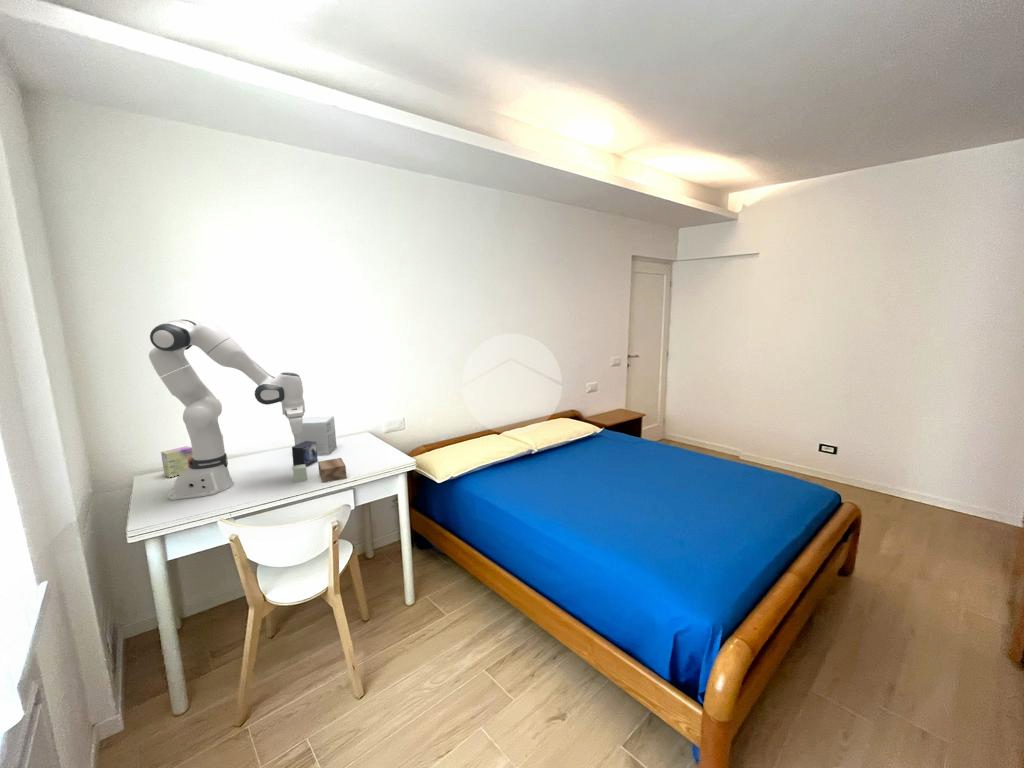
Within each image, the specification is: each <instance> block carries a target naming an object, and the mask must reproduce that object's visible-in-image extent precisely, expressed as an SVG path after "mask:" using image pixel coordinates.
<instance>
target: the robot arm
mask: <svg viewBox="0 0 1024 768" xmlns="http://www.w3.org/2000/svg"><path fill="white" fill-rule="evenodd" d="M149 339H150V342H151V344H152V346H154V347H153V348H152V349H151V350H150V351H149V354H148V358H149V360H150V363H151V365H152V367H153V369H154V370H155V372H156V374H157V376H158V377H159V378H160V380H161V381H162V383H163V384H164V386H165V387H166V388H167V390H168V391H169V393H170V395H172V396H174V397H175V398H176V399H177V400H178V401H179V402H180V403H181V404H182V405H183V406H184V407H185V408H184V410H183V414H182V421H183V423H184V425H185V429H186V431H187V434H188V436H189V439H190V444H191V447H192V452H193V457H190V458H189V459H188V467H189V468H188V469H187V470H186V471H184V472H183V473H182V474H181V475H179V476H176V477H177V478H176V479H175V481H174V484H173V488H172V489H170V491H168V494H167V498H168V500H171V501H176V500H184V499H193V498H200V497H207V496H213V495H216V494H217V493H219V492H222V491H224V490H226V489H229V488H231V487H232V486H233V485H234V481H233V480H232V478H231V475H230V471H229V467H228V465H229V463H228V456H227V453H226V451H225V443H224V436H223V434H222V431H221V428H220V423H219V417H220V415H221V414H222V411H223V406H222V403H221V401H220V400H219V399H218V398H217V397H216V396H215V394H214V393H213V392H212V391H211V390H210V389H209V388H208V387H207V385H206V384H205V383H204V382H203V381H202V380H201V379H200V377H199V376H198V374H197V373H196V371H195V370H194V368H193V367H192V365H191V364H190V362H189V360H188V359H187V357H186V356H185V350H186V351H187V350H189V349H190V348H191V347H192V346H194V347H196V348H198V349H199V350H201V351H202V352H203V353H204V354H205V355H207V357H209V359H211V360H212V361H214V362H215V363H217V365H220V366H222V367H225V368H232V369H234V370H238V371H240V372H242V373H243V374H245V375H246V376H247V377H248V378H249V379H250V380H251V381H252V382H254V383H255V384H256V385H257V387H256V388H255V390H254V398H255V399H256V401H257V402H258V403H260V404H262V405H267V406H268V405H274V404H278V403H280V404H281V410H282V411H281V412H282V415H283V416H285V417H286V419H288V421H289V426H290V430H291V433H292V435H293V438H294V437H295V441H294V443H295V442H296V443H299V442H300V434H302V426H303V417H304V416H305V413H306V406H305V399H304V397H303V396H304V395H303V394H304V388H303V387H304V385H303V381H302V378H301V376H300V374H297V373H296V372H294V373H293V372H280V373H279V374H278V375H277V376H276V377H275V376H273V375H272V374H269V373H268V372H267V371H266V370H265V369H264V368H262V367H261V366H260V365H259V364H258V363H257V362H256V361H254V360H253V359H252V358H251V357H250V356H249V355H248V354H247V353H246V352H245V350H244V349H243V348H242V347H241V346H240V345H239V344H238V343H237V342H236V340H235V339H233V338H232V337H231V336H230V335H229V333H227V332H225V331H224V330H223V328H221V327H219V326H218V325H216V324H215V323H214V322H211V321H201V322H198V323H196V322H194V321H192V320H189V319H177V320H171V321H168V322H166V323H161V324H158V325H157V326H155V327H154V328H152V330H151V332H150V334H149Z"/></svg>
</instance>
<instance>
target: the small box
mask: <svg viewBox="0 0 1024 768" xmlns="http://www.w3.org/2000/svg"><path fill="white" fill-rule="evenodd" d="M291 452H292V453H291V454H292V455H291V456H292V465H293V466H297V465H303V464H305V466H306V468H307V467H310V466H311V465H312V464H315V463H318V462H319V461H318V460H319V459H318V455H317V446H316V442H312V441H304V442H302V443H300V444H298V445H295V444H294V445H293V446H292V447H291ZM293 466H292V467H293Z"/></svg>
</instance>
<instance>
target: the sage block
mask: <svg viewBox="0 0 1024 768" xmlns="http://www.w3.org/2000/svg"><path fill="white" fill-rule="evenodd" d="M292 470H293V471H292V472H293V479H294V483H299V482H304V481H308V474H307V472H308V471H307V467H306V466H305V464H303V465H297V466H292Z"/></svg>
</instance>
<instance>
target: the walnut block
mask: <svg viewBox="0 0 1024 768" xmlns="http://www.w3.org/2000/svg"><path fill="white" fill-rule="evenodd" d="M317 464H318V465H317V466H318V473H319V477H320V480H321V482H322V483H323V482H324V483H327V482H328V481H329V482H333V481H338V480H339V481H340V480H344V479H347V467H346V464H345V462H344V460H343V459H342V458H341V457H338V458H333V459H327V460H320V461H317ZM329 482H328V483H329Z"/></svg>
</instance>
